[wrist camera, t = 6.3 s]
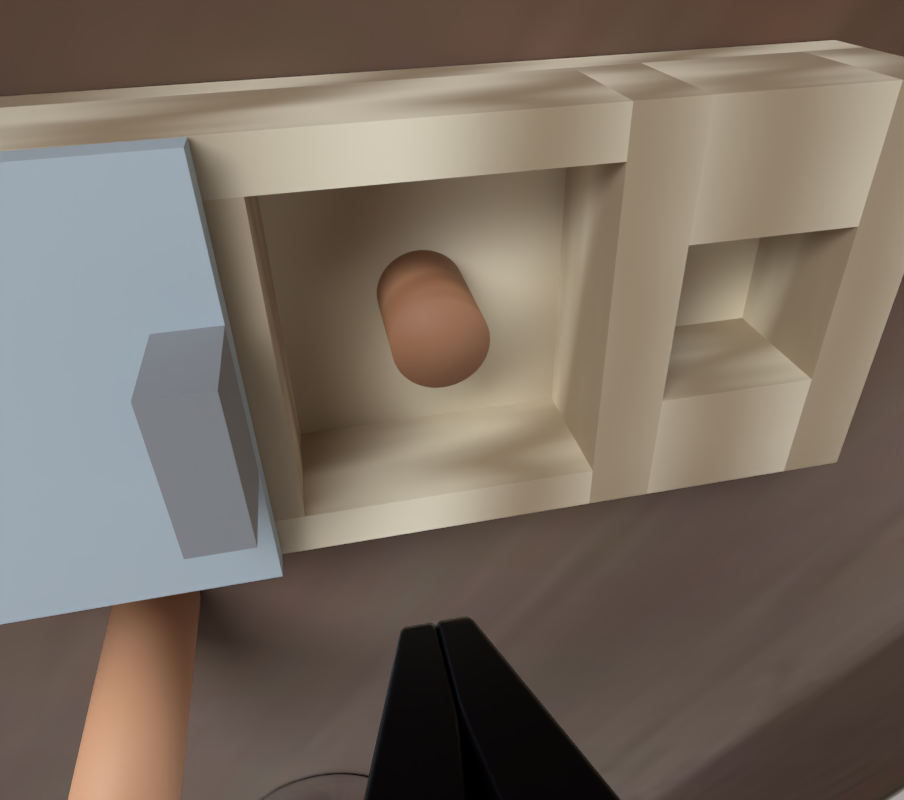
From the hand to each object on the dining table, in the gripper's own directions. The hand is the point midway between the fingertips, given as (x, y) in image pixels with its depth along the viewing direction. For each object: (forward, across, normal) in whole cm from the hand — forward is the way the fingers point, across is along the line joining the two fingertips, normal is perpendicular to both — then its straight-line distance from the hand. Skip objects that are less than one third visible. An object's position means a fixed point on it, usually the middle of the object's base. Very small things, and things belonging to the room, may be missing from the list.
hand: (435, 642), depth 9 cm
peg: (+10, +7, +10) cm, 16 cm away
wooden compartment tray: (+10, 0, 0) cm, 10 cm away
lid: (+6, +6, 0) cm, 9 cm away
